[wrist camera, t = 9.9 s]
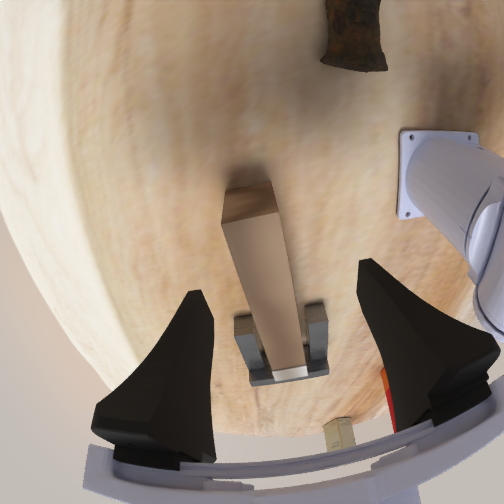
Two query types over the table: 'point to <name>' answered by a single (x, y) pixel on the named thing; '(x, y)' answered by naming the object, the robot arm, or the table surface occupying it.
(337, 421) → the skincare box
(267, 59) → the table surface
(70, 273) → the table surface
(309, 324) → the u-shaped metal bracket
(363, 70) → the hand tool
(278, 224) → the walnut rail
